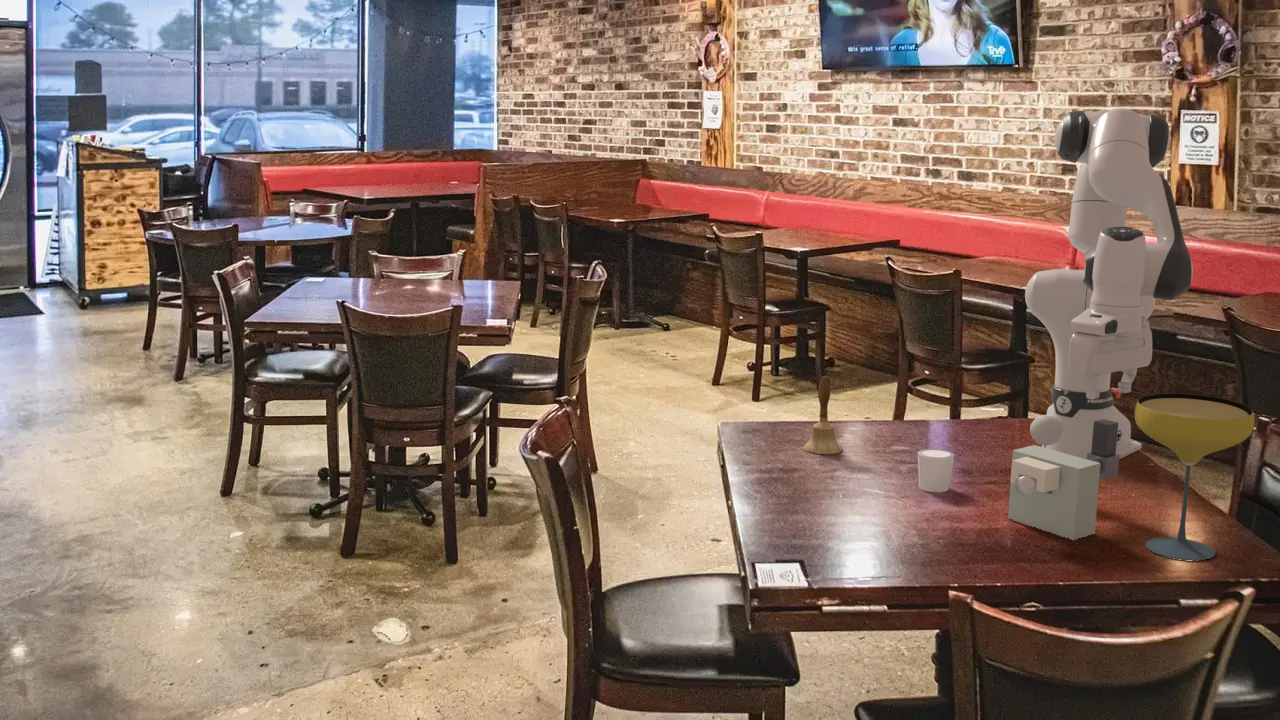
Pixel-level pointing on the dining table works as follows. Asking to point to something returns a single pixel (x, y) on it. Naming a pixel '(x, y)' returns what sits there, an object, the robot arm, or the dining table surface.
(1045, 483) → the block
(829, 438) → the hand bell
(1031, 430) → the lollipop
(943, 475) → the white cup
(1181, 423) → the cocktail glass
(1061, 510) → the grey slotted block
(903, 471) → the dining table surface
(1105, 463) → the hammer
